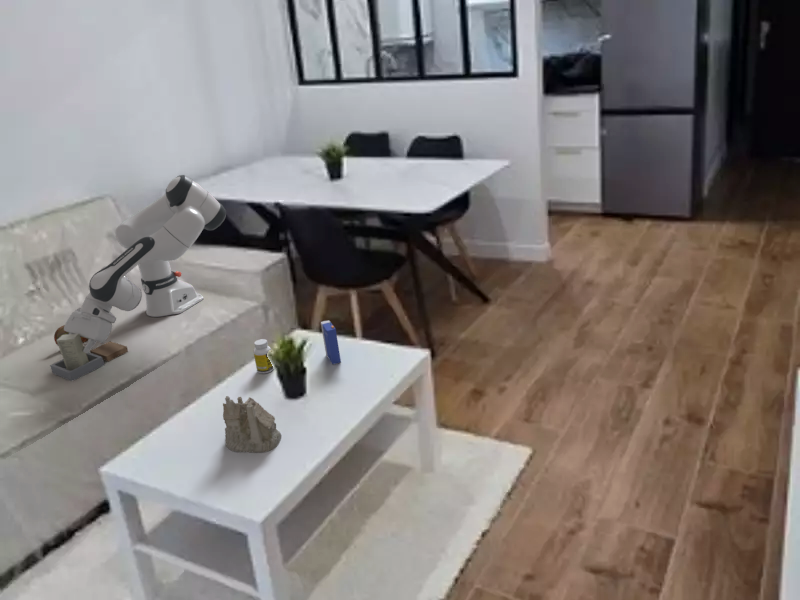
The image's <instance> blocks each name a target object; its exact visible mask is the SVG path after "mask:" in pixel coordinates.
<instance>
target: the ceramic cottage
mask: <svg viewBox="0 0 800 600" xmlns="http://www.w3.org/2000/svg"><path fill="white" fill-rule="evenodd" d="M230 398H231V397H230V396H229V395H227V396H225V398H224V399H225V403H222V406H223V413H222V417H223V418H222V420H224V424H225V426H226V427H224V431H225V432H224V433H225V435H224V436H225V447H226V448H227V449H229V451H232V452H234V453H249V454H250V453H253V454H255V453H256V454H262V453H266V452H270V451H272V450H274V449H276V448H277V447H278V446H279V444H280V442H281V440H282V434H281V432H280V431H279V430H278V429H277V423H276V422H275V420H276V418H275V416H274V415H272V413H269V412H268V410H266V409H264V407H263V406H262V405H261V404H260V403H259V402H257V401H256V400H254V398H252V397H248V399H247V400H246V401H245V402H244V400H243V398H242V396H238V397H237V402H235V401H234V399H230Z"/></svg>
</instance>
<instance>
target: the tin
mask: <svg viewBox="0 0 800 600" xmlns="http://www.w3.org/2000/svg"><path fill="white" fill-rule="evenodd" d="M64 326H65V324H64V325H61V326H59V327H58V328H57V329H56V331H55V332H54V336H53V341H54V342H55V345H56V346H58V343H57V339H58V338H60V337H61V336H62V335H66V334H69V332H66V331H64ZM80 337H81V336H80ZM81 340H82V343H85V342H88V339H87V338H84V337H81Z"/></svg>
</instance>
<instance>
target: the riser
mask: <svg viewBox="0 0 800 600" xmlns="http://www.w3.org/2000/svg"><path fill="white" fill-rule="evenodd" d="M128 352H129V349H128V346H127V345H124V344H121V343H117V342H113V341H111V340H110V341H107V342H106V343H105V342H104V343H102V344H101V345H99V346H97V347H95V348H92V349H90V351H89V353H92V354H95V355H98V356H101V357H102V358H103V361H105V362H110V361H112V360H115V359H116V358H119V357H120V356H122V355H125V354H127V353H128Z"/></svg>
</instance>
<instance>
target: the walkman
mask: <svg viewBox="0 0 800 600" xmlns="http://www.w3.org/2000/svg"><path fill="white" fill-rule="evenodd" d="M320 325H321V331H322V338H323V343H324V351H325V356H326V357H327V356H328V357H327V358H328V360H329V361H330V363H331V364H332V365H336V364H337V365H338V364H339V363H342V361H341V360H342V359H341V355H340V349H339V348H340V347H339V343H338V342H339V341H338V334H337V329H336V327H335V326H334V324H333V323H332V322H331V321H330V319H329V320H323V321H321V322H320Z"/></svg>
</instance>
